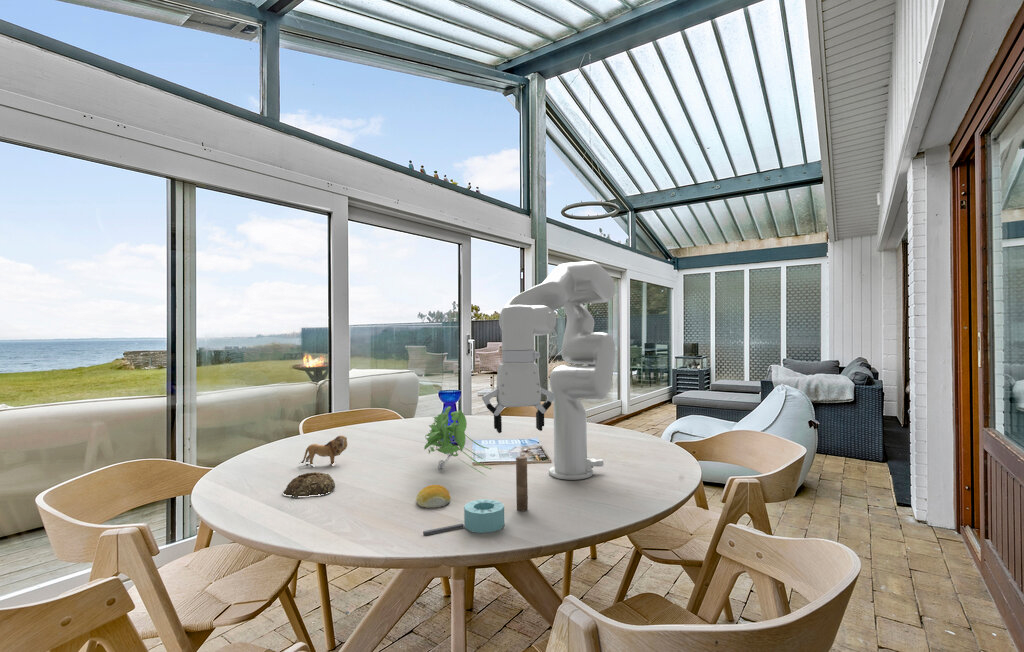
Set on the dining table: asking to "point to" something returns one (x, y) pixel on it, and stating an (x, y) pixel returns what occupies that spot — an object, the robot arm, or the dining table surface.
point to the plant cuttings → (442, 432)
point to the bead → (484, 515)
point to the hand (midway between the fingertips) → (519, 430)
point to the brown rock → (310, 484)
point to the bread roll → (433, 496)
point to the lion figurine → (326, 449)
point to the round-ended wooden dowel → (521, 483)
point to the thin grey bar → (443, 529)
